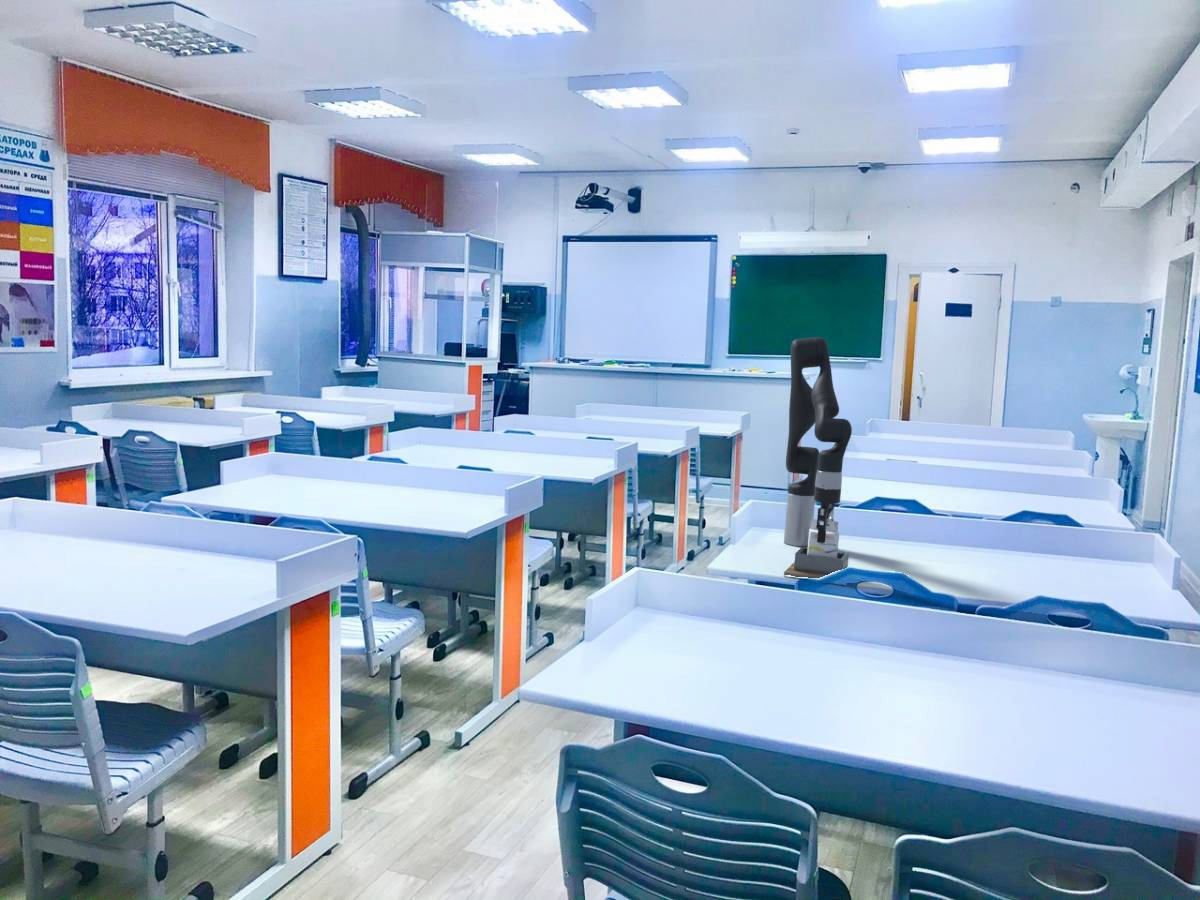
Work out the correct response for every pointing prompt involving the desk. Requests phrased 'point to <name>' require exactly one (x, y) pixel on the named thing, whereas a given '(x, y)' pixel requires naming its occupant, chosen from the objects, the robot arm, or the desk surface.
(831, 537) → the ink cartridge box
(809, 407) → the robot arm
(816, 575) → the base board
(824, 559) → the sleeve
